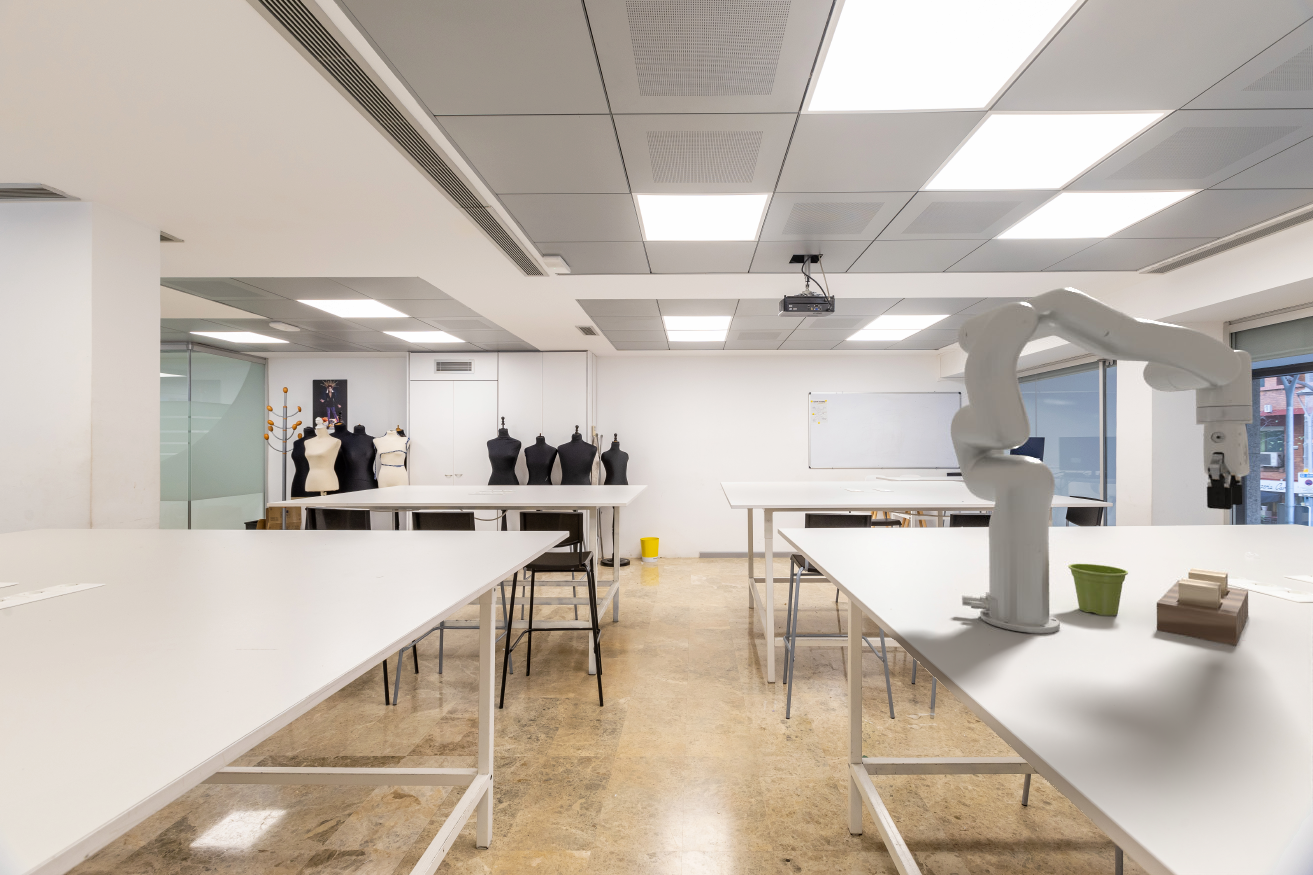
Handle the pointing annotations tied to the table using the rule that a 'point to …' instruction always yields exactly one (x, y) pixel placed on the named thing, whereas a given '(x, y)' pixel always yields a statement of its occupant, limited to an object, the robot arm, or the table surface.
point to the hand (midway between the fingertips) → (1225, 506)
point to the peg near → (1200, 593)
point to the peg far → (1211, 578)
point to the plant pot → (1098, 587)
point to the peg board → (1204, 616)
